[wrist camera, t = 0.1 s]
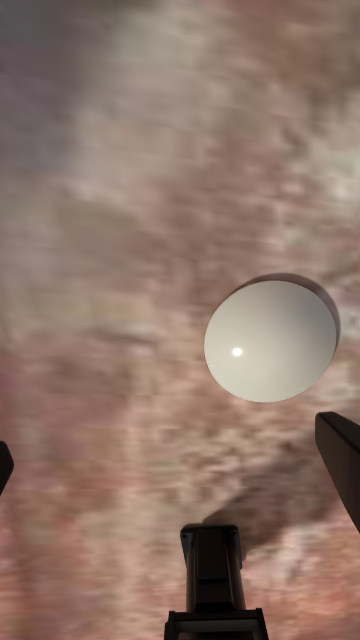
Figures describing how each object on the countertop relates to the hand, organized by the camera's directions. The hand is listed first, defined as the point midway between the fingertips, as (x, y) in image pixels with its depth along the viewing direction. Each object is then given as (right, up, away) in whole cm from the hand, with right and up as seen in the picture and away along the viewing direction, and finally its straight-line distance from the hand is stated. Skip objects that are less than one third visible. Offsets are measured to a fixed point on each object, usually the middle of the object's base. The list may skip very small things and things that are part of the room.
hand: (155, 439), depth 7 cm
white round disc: (+8, +1, +14) cm, 17 cm away
